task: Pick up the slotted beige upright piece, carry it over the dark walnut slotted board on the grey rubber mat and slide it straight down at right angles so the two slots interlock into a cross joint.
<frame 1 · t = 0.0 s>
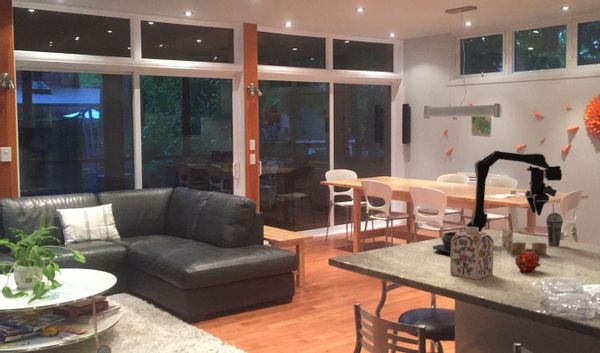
hand: (536, 214, 291), 15 cm above the kitchen island, tool pointing down, fingers open, 9 cm apart
dragon fruit: (527, 271, 239), on the kitchen island
decorative jar: (471, 275, 234), on the kitchen island
walnut board: (528, 254, 268), resting on rubber mat
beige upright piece: (507, 249, 283), on the kitchen island
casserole: (460, 254, 274), on the kitchen island
beverage cup: (553, 246, 289), on the kitchen island
rubber mat: (528, 255, 268), on the kitchen island
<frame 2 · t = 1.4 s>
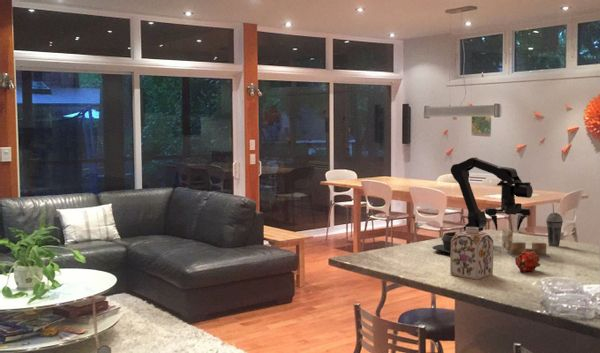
hand: (507, 230, 282), 9 cm above the kitchen island, tool pointing down, fingers open, 9 cm apart
nothing on the kitchen island moved.
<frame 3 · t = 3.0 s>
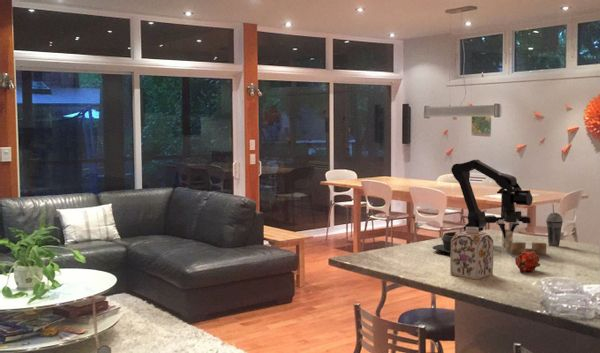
hand: (507, 238, 282), 5 cm above the kitchen island, tool pointing down, fingers closed on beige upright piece, 2 cm apart
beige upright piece: (507, 249, 283), on the kitchen island, touching gripper
everything else where it was.
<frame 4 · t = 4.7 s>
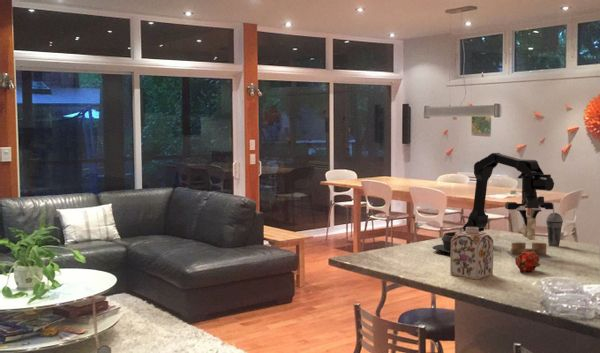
hand: (528, 225, 268), 13 cm above the kitchen island, tool pointing down, fingers closed on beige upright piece
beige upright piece: (528, 237, 268), point 8 cm above the kitchen island, touching gripper
everything else where it was.
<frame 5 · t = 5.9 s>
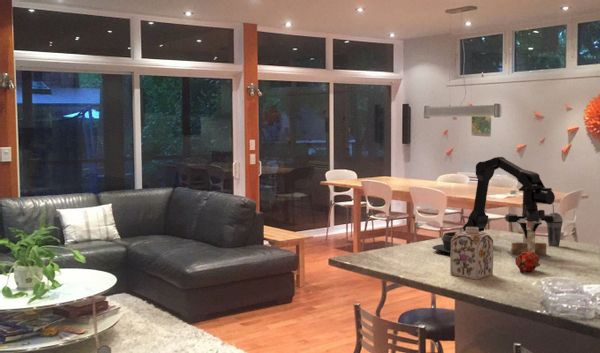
hand: (528, 238, 268), 8 cm above the kitchen island, tool pointing down, fingers closed on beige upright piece, 2 cm apart
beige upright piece: (528, 250, 268), point 2 cm above the kitchen island, touching gripper
everything else where it was.
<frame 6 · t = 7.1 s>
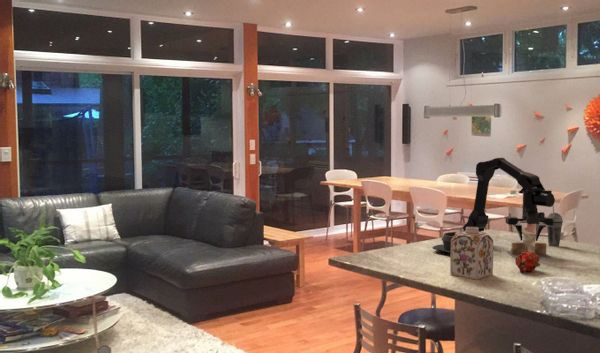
hand: (528, 240, 268), 6 cm above the kitchen island, tool pointing down, fingers open, 6 cm apart
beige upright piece: (528, 254, 268), resting on rubber mat
everything else where it was.
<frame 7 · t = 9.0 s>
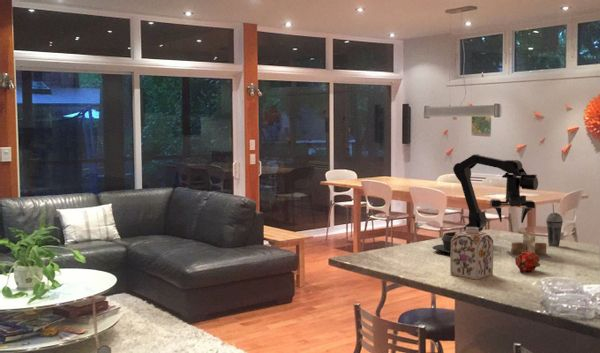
hand: (511, 222, 283), 12 cm above the kitchen island, tool pointing down, fingers open, 9 cm apart
nothing on the kitchen island moved.
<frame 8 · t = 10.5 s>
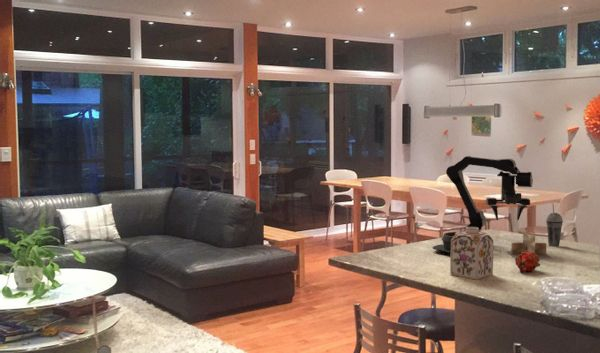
hand: (507, 220, 287), 13 cm above the kitchen island, tool pointing down, fingers open, 9 cm apart
nothing on the kitchen island moved.
at the end: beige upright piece 0.0 cm off-centre on the walnut board, point 0.0 cm above the walnut board's base; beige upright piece tilted 0°; the gripper is holding nothing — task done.
